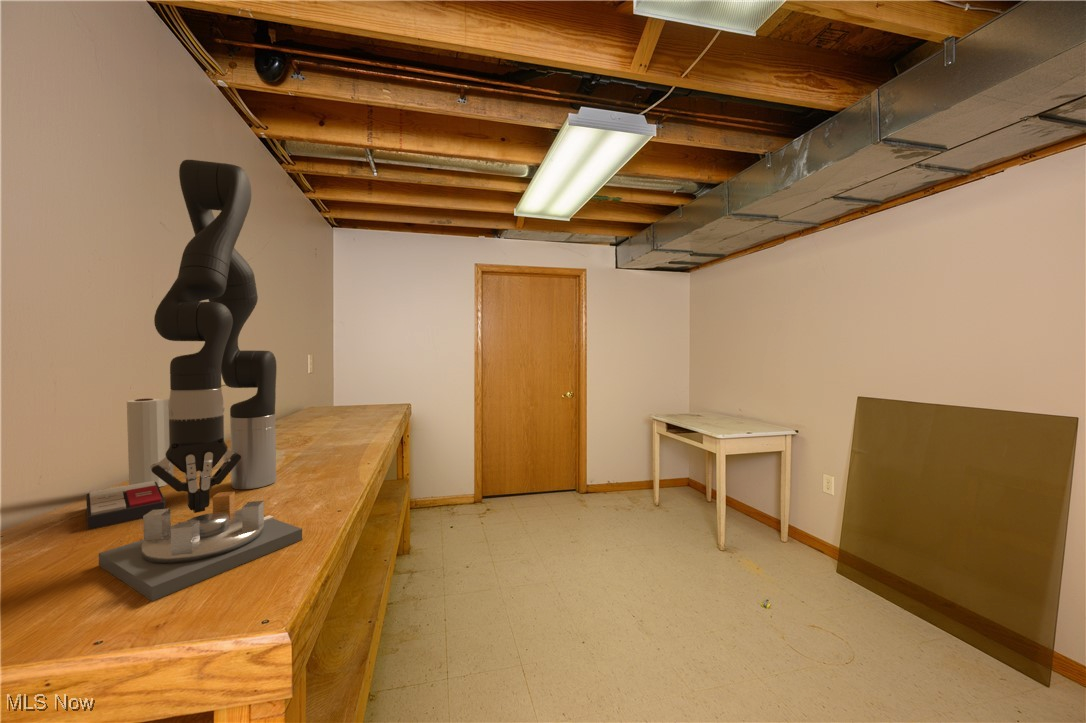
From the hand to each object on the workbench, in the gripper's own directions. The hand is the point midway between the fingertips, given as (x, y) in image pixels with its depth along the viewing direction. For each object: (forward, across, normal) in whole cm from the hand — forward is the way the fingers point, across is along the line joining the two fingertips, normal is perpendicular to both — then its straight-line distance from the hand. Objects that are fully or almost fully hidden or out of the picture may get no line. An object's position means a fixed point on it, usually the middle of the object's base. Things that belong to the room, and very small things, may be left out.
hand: (198, 510), depth 76 cm
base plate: (+5, 0, +6) cm, 8 cm away
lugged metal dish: (+3, 0, +7) cm, 7 cm away
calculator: (+6, +8, -27) cm, 29 cm away
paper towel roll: (+5, +4, -43) cm, 44 cm away
